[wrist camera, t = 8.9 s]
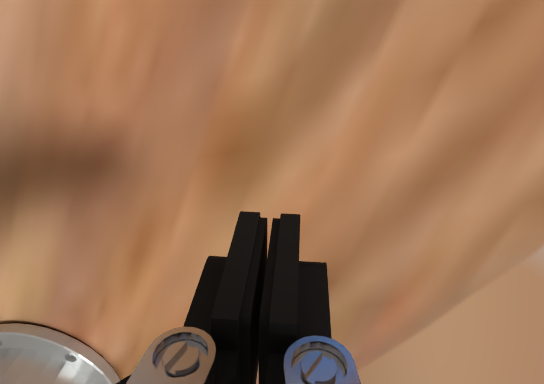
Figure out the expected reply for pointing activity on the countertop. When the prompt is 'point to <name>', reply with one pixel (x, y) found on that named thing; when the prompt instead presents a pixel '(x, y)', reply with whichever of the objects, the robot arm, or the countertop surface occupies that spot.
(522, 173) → the countertop surface
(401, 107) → the countertop surface
